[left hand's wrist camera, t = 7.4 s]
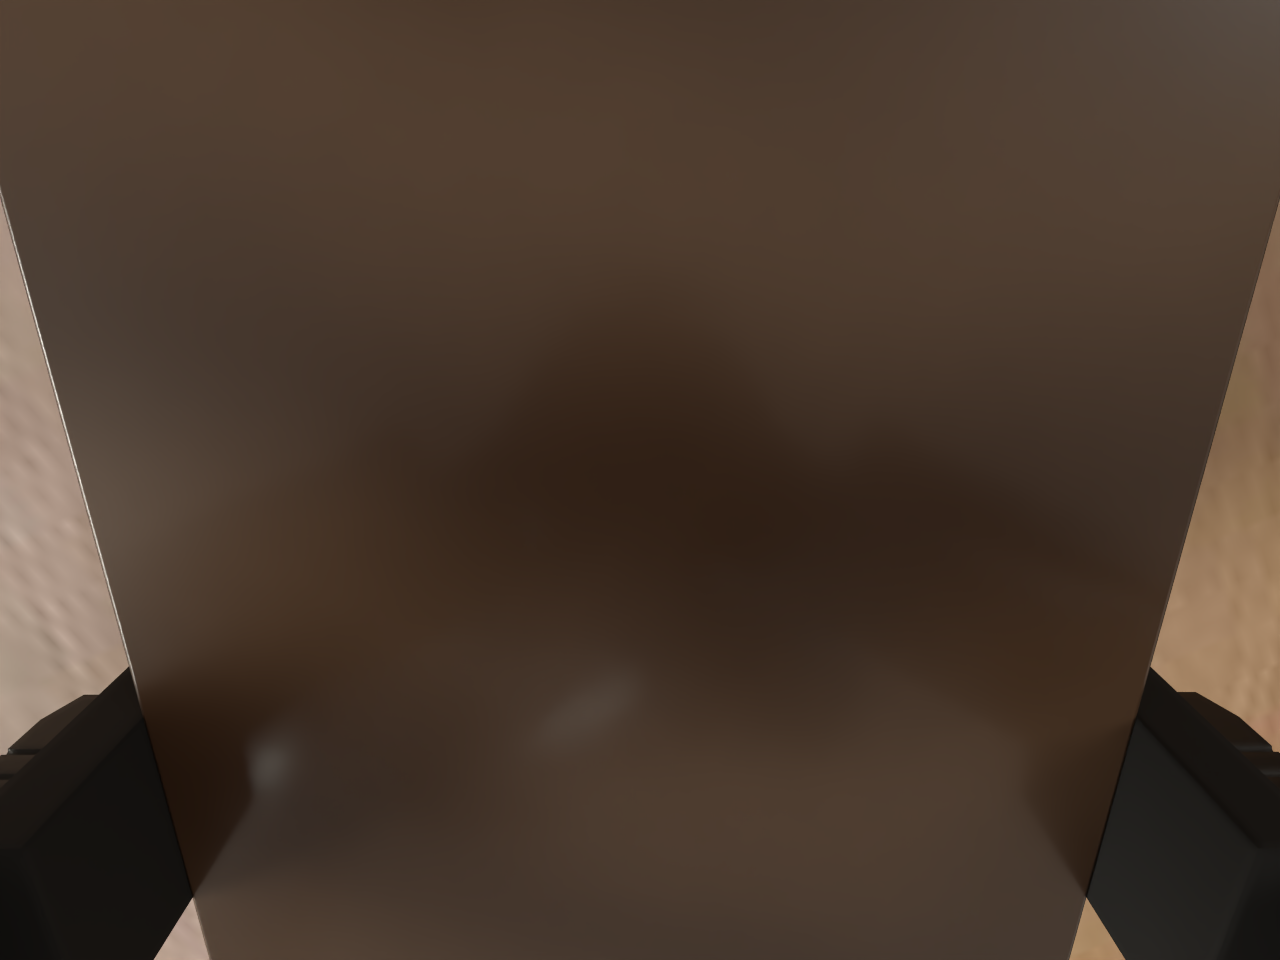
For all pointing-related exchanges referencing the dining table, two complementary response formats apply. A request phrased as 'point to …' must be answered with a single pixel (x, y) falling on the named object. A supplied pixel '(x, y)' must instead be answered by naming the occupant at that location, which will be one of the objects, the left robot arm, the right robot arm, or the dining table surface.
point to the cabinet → (639, 446)
